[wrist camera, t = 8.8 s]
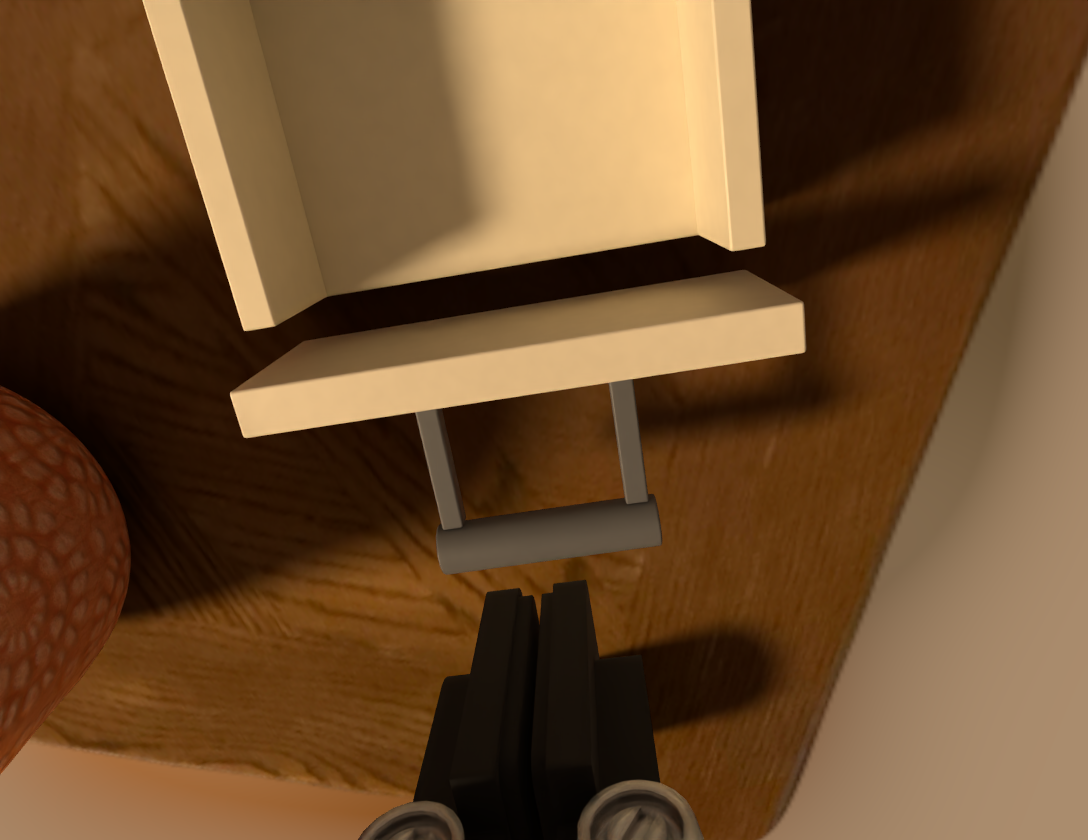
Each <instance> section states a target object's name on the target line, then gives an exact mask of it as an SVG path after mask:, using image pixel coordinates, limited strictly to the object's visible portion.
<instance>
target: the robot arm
mask: <svg viewBox="0 0 1088 840" xmlns="http://www.w3.org/2000/svg"><path fill="white" fill-rule="evenodd" d="M358 840H704V838H703V836H702V833H701V830H700V828H699V825H698V822H697V820H696V817H695V814H694V813H693V811H692V809H691V808H690V806H689V804H688V803H687V801H686V800H685V799H684V798H683V797H682V796H681V795H679V794H678V793H677V792H676V791H675V790H674V789H672V788H669V787H667V786H665V785H663V784H661V783H660V778H659V771H658V764H657V758H656V751H655V744H654V737H653V730H652V723H651V716H650V709H649V703H648V696H647V689H646V682H645V675H644V668H643V661H642V655H633V656H625V657H616V658H607V659H599V653H598V647H597V641H596V635H595V629H594V623H593V617H592V611H591V605H590V599H589V593H588V587H587V582H586V580H581V581H573V582H565V583H557V584H554V585H553V593H547V594H542V600H541V615H540V625H539V620H538V615H537V610H536V604H535V600H534V597H533V595H530V596H522V592H521V590H520V588H516V589H508V590H500V591H492V592H487V594H486V598H485V603H484V608H483V613H482V618H481V623H480V628H479V633H478V638H477V643H476V648H475V653H474V658H473V663H472V668H471V673H470V674H467V675H458V676H449V677H446V678H445V679H444V682H443V685H442V688H441V692H440V696H439V700H438V704H437V708H436V712H435V716H434V720H433V724H432V728H431V732H430V736H429V740H428V744H427V748H426V752H425V756H424V760H423V764H422V768H421V772H420V776H419V780H418V784H417V788H416V792H415V795H414V799H413V802H410V803H407V804H404V805H401V806H398V807H395V808H393V809H391V810H389V811H388V812H386V813H385V814H383V815H381V816H380V817H378V818H377V819H376V820H375V821H374V822H373V823H372V824H370V825H369V826H368V828H366V829H365V830H364V831H363V833H362V834H361V836H360V837H359V839H358Z"/></svg>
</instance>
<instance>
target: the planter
mask: <svg viewBox="0 0 1088 840" xmlns="http://www.w3.org/2000/svg"><path fill="white" fill-rule="evenodd" d="M130 567H131V552H130V541H129V534H128V528H127V524H126V520H125V516H124V513H123V510H122V507H121V504H120V502H119V499H118V497H117V495H116V493H115V490H114V488H113V486H112V485H111V483H110V481H109V479H108V477H107V476H106V474H105V473H104V471H103V469H102V468H101V466H100V465H99V463H98V462H97V461H96V459H95V458H94V457H93V455H92V454H91V453H90V452H89V451H88V449H87V448H86V447H85V446H84V445H83V444H82V443H81V442H80V441H79V439H78V438H77V437H76V436H75V435H74V434H72V433H71V432H70V431H69V430H68V429H67V428H66V427H65V426H64V425H63V424H61V423H60V422H59V421H58V420H57V419H55V418H54V417H53V416H51V415H50V414H49V413H47V412H46V411H45V410H43V409H42V408H40V407H39V406H37V405H36V404H34V403H33V402H31V401H29V400H28V399H26V398H24V397H22V396H21V395H19V394H17V393H15V392H13V391H11V390H9V389H7V388H4V387H2V386H0V774H1V773H2V772H3V771H4V769H5V768H6V767H7V766H8V765H9V763H10V762H11V761H12V760H13V758H14V757H15V756H16V755H17V754H18V752H19V751H20V750H21V749H22V747H23V746H24V745H25V744H26V743H27V741H28V740H29V739H30V738H31V736H32V735H33V734H34V733H35V732H36V730H37V729H38V728H39V727H40V726H41V724H42V723H43V722H44V721H45V720H46V718H47V717H48V716H49V715H50V714H51V712H52V711H53V710H54V709H55V708H56V706H57V705H58V704H59V703H60V702H61V701H62V700H63V699H64V697H65V696H66V695H67V694H68V693H69V692H70V691H71V689H72V688H73V687H74V686H75V685H76V684H77V683H78V682H79V680H80V679H81V678H82V677H83V675H84V674H85V673H86V671H87V670H88V668H89V667H90V665H91V664H92V662H93V661H94V660H95V658H96V657H97V655H98V654H99V652H100V651H101V649H102V648H103V646H104V645H105V643H106V642H107V640H108V638H109V637H110V635H111V633H112V631H113V629H114V627H115V625H116V623H117V621H118V618H119V616H120V613H121V610H122V607H123V604H124V601H125V598H126V594H127V589H128V584H129V577H130Z"/></svg>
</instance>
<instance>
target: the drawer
mask: <svg viewBox="0 0 1088 840" xmlns="http://www.w3.org/2000/svg"><path fill="white" fill-rule="evenodd" d="M142 1H143V4H144V7H145V10H146V14H147V17H148V20H149V23H150V27H151V30H152V33H153V36H154V40H155V43H156V46H157V49H158V53H159V56H160V59H161V63H162V66H163V69H164V72H165V76H166V79H167V82H168V85H169V89H170V92H171V95H172V98H173V102H174V105H175V108H176V111H177V115H178V118H179V121H180V124H181V128H182V131H183V134H184V137H185V141H186V144H187V147H188V150H189V154H190V157H191V160H192V164H193V167H194V170H195V173H196V177H197V180H198V183H199V186H200V190H201V193H202V196H203V199H204V203H205V206H206V209H207V212H208V216H209V219H210V222H211V225H212V229H213V232H214V235H215V238H216V242H217V245H218V248H219V251H220V255H221V258H222V261H223V265H224V268H225V271H226V274H227V278H228V281H229V284H230V287H231V291H232V294H233V297H234V300H235V304H236V307H237V310H238V313H239V317H240V320H241V323H242V326H243V329H244V331H251V330H257V329H263V328H269V327H275V326H277V325H278V324H280V323H282V322H284V321H285V320H287V319H289V318H291V317H292V316H294V315H296V314H298V313H299V312H301V311H303V310H305V309H306V308H308V307H310V306H312V305H313V304H315V303H317V302H318V301H320V300H322V299H324V298H325V297H328V296H334V295H340V294H346V293H352V292H358V291H364V290H370V289H376V288H382V287H388V286H394V285H401V284H407V283H413V282H419V281H425V280H431V279H437V278H443V277H449V276H455V275H461V274H467V273H473V272H479V271H485V270H491V269H497V268H503V267H509V266H515V265H521V264H527V263H533V262H539V261H545V260H551V259H557V258H563V257H569V256H575V255H581V254H587V253H593V252H599V251H605V250H611V249H617V248H623V247H630V246H636V245H642V244H648V243H654V242H660V241H666V240H672V239H678V238H684V237H690V236H696V235H700V236H702V237H704V238H706V239H708V240H710V241H712V242H714V243H716V244H718V245H720V246H722V247H724V248H726V249H728V250H730V251H739V250H745V249H751V248H757V247H763V246H765V244H766V233H765V217H764V201H763V185H762V169H761V153H760V137H759V121H758V105H757V89H756V73H755V57H754V41H753V25H752V9H751V0H142ZM804 352H806V333H805V312H804V303H803V302H802V301H801V300H799V299H797V298H795V297H793V296H792V295H790V294H788V293H786V292H784V291H783V290H781V289H779V288H777V287H775V286H774V285H772V284H770V283H768V282H766V281H765V280H763V279H761V278H759V277H757V276H756V275H754V274H752V273H750V272H748V271H747V270H739V271H733V272H727V273H720V274H714V275H708V276H702V277H696V278H690V279H683V280H677V281H671V282H665V283H659V284H653V285H646V286H640V287H634V288H628V289H622V290H615V291H609V292H603V293H597V294H591V295H585V296H578V297H572V298H566V299H560V300H554V301H548V302H541V303H535V304H529V305H523V306H517V307H510V308H504V309H498V310H492V311H486V312H480V313H473V314H467V315H461V316H455V317H449V318H443V319H436V320H430V321H424V322H418V323H412V324H405V325H399V326H393V327H387V328H381V329H375V330H368V331H362V332H356V333H350V334H344V335H338V336H331V337H325V338H319V339H313V340H307V341H303V342H302V343H300V344H299V345H297V346H296V347H295V348H293V349H292V350H290V351H289V352H287V353H286V354H285V355H283V356H282V357H280V358H279V359H277V360H276V361H274V362H273V363H272V364H270V365H269V366H267V367H266V368H264V369H263V370H262V371H260V372H259V373H257V374H256V375H254V376H253V377H252V378H250V379H249V380H247V381H246V382H244V383H243V384H241V385H240V386H239V387H237V388H236V389H234V390H233V391H231V392H230V397H231V400H232V403H233V406H234V409H235V412H236V415H237V418H238V422H239V425H240V428H241V431H242V434H243V436H244V438H250V437H257V436H264V435H270V434H277V433H283V432H290V431H296V430H303V429H309V428H316V427H322V426H329V425H335V424H342V423H348V422H355V421H362V420H368V419H375V418H381V417H388V416H394V415H401V414H407V413H414V412H415V414H416V418H417V422H418V427H419V431H420V435H421V439H422V444H423V448H424V452H425V456H426V460H427V465H428V469H429V473H430V477H431V482H432V486H433V490H434V494H435V499H436V503H437V507H438V511H439V515H440V520H441V524H440V525H439V526H438V528H437V534H436V546H437V555H438V560H439V564H440V567H441V569H442V571H443V573H444V574H455V573H462V572H469V571H477V570H484V569H491V568H499V567H506V566H513V565H521V564H528V563H535V562H543V561H550V560H557V559H565V558H572V557H579V556H586V555H594V554H601V553H608V552H616V551H623V550H630V549H638V548H645V547H652V546H660V545H662V533H661V525H660V518H659V513H658V507H657V503H656V499H655V496H654V494H648V491H647V484H646V476H645V468H644V460H643V453H642V445H641V437H640V430H639V422H638V414H637V406H636V399H635V391H634V383H633V379H636V378H642V377H649V376H655V375H662V374H669V373H675V372H682V371H688V370H695V369H701V368H708V367H714V366H721V365H727V364H734V363H740V362H747V361H753V360H760V359H766V358H773V357H780V356H786V355H793V354H799V353H804ZM603 383H609V389H610V396H611V403H612V410H613V417H614V424H615V431H616V438H617V446H618V453H619V460H620V467H621V474H622V481H623V488H624V495H625V498H620V499H613V500H606V501H599V502H592V503H584V504H577V505H570V506H563V507H556V508H549V509H542V510H535V511H528V512H521V513H514V514H507V515H500V516H493V517H486V518H479V519H472V520H465V519H466V515H465V510H464V506H463V501H462V497H461V492H460V488H459V483H458V479H457V474H456V470H455V465H454V461H453V456H452V452H451V447H450V443H449V438H448V434H447V429H446V425H445V420H444V416H443V412H442V408H446V407H453V406H459V405H466V404H473V403H479V402H486V401H492V400H499V399H505V398H512V397H518V396H525V395H531V394H538V393H544V392H551V391H557V390H564V389H571V388H577V387H584V386H590V385H597V384H603Z"/></svg>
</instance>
